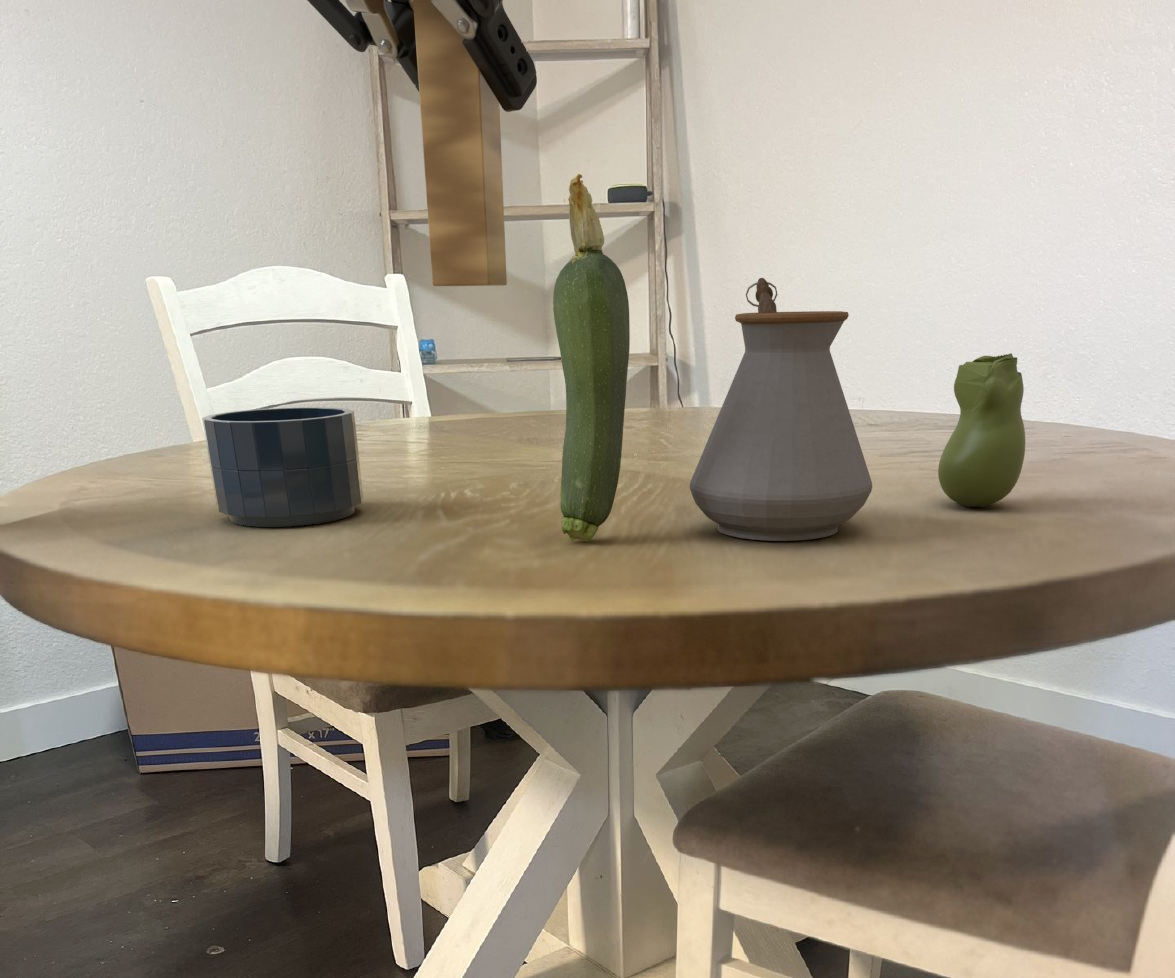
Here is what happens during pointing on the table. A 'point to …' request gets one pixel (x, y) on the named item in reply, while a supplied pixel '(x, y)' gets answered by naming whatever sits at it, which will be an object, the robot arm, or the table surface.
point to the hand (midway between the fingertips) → (489, 103)
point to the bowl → (284, 465)
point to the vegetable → (591, 370)
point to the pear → (985, 433)
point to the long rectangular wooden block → (459, 157)
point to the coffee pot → (783, 433)
